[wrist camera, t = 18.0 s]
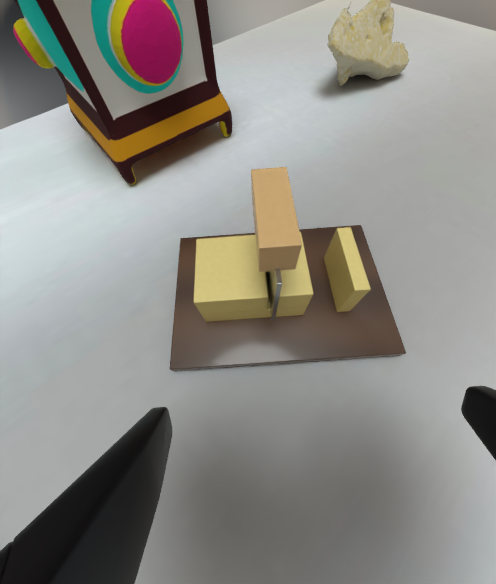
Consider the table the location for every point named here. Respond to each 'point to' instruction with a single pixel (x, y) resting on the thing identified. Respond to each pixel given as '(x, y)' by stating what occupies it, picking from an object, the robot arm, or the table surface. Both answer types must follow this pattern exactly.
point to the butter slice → (345, 270)
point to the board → (285, 319)
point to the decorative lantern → (129, 70)
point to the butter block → (244, 281)
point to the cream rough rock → (367, 43)
